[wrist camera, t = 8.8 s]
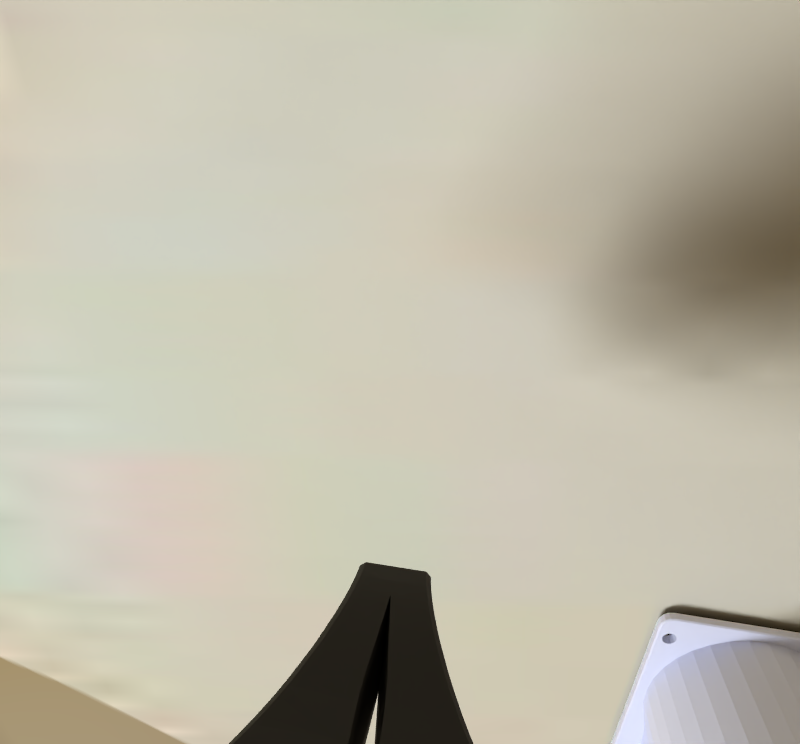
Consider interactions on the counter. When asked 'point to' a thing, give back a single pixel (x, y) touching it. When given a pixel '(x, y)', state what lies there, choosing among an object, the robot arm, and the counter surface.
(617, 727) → the robot arm
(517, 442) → the counter surface
